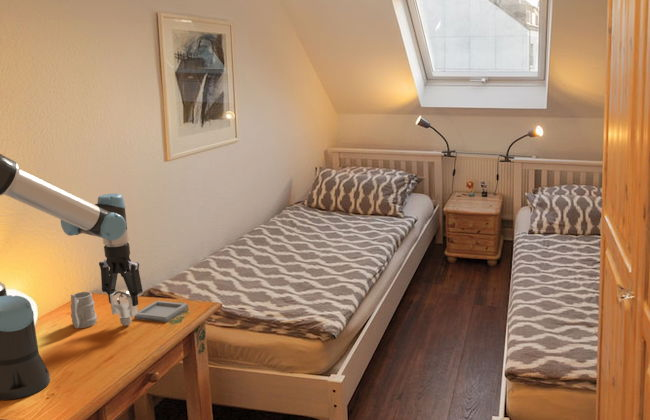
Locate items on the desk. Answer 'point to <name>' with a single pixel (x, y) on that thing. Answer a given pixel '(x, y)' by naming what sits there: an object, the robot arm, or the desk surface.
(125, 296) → the light bulb
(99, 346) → the desk surface
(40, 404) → the desk surface
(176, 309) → the dish
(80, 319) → the mug
